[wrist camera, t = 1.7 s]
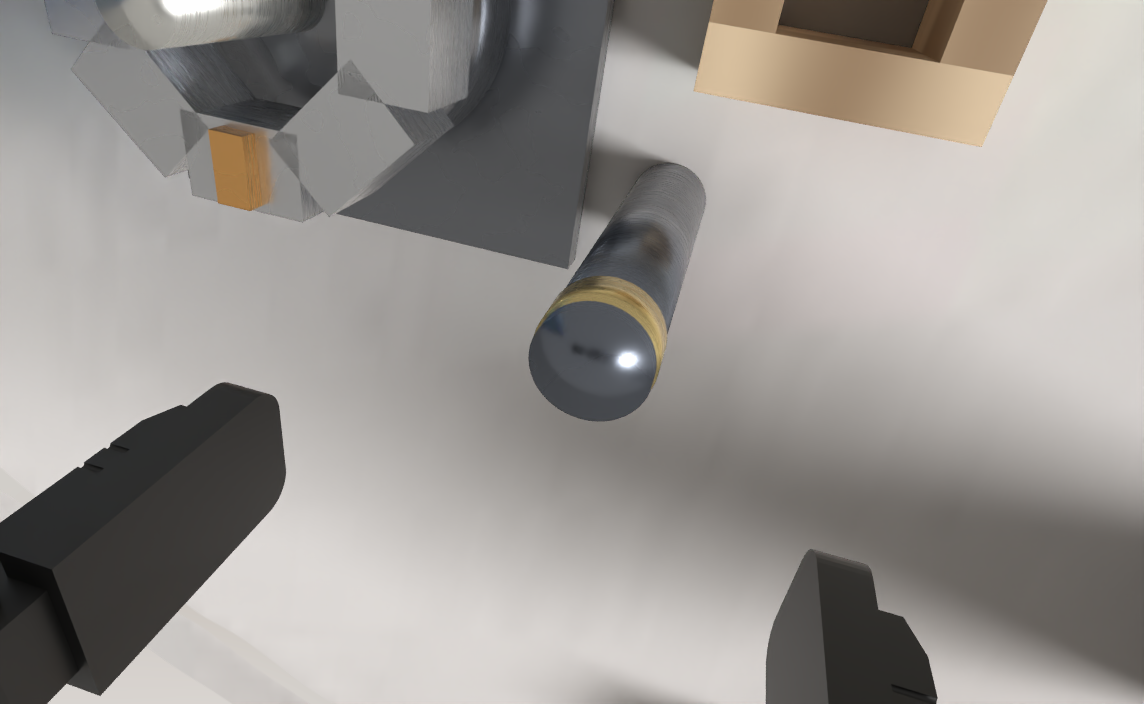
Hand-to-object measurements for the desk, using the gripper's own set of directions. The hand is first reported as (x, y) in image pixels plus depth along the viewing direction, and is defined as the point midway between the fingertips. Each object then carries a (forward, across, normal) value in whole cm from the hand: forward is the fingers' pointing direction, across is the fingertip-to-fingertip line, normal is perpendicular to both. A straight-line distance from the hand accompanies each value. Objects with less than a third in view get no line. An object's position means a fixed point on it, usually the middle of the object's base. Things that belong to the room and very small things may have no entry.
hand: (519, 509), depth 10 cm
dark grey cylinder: (+16, 0, 0) cm, 16 cm away
